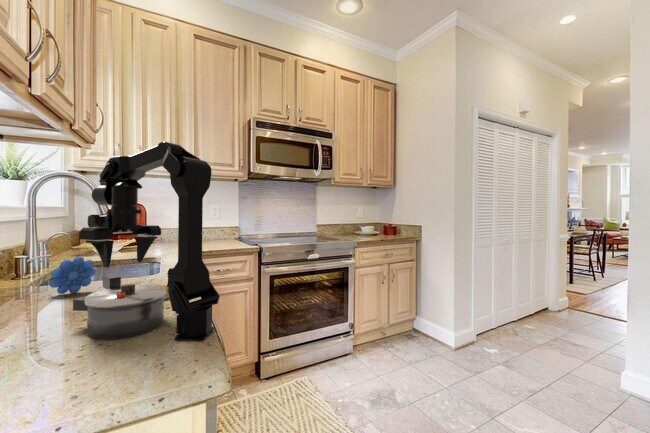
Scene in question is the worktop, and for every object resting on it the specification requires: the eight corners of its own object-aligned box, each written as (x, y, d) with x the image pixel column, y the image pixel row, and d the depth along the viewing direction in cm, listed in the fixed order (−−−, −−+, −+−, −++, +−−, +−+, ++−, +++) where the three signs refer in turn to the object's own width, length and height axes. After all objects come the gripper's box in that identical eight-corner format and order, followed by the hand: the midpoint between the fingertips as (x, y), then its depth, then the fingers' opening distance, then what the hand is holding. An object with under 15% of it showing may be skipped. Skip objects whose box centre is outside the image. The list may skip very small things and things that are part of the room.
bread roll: (157, 293, 100) (158, 281, 100) (179, 295, 97) (179, 283, 97) (135, 299, 92) (136, 286, 92) (158, 302, 89) (158, 289, 89)
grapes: (95, 287, 104) (96, 254, 103) (96, 292, 98) (96, 256, 98) (50, 293, 96) (50, 256, 96) (48, 298, 91) (49, 259, 91)
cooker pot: (175, 316, 77) (175, 291, 77) (137, 341, 62) (138, 309, 62) (102, 314, 78) (103, 289, 78) (48, 338, 63) (48, 307, 63)
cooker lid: (178, 296, 71) (178, 281, 71) (98, 313, 59) (99, 296, 59) (141, 282, 84) (141, 270, 84) (68, 294, 71) (68, 280, 71)
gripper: (133, 206, 89) (133, 257, 89) (63, 204, 71) (62, 268, 71) (162, 206, 86) (162, 260, 86) (96, 204, 68) (96, 271, 68)
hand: (124, 264), depth 78 cm, fingers open, 9 cm apart
